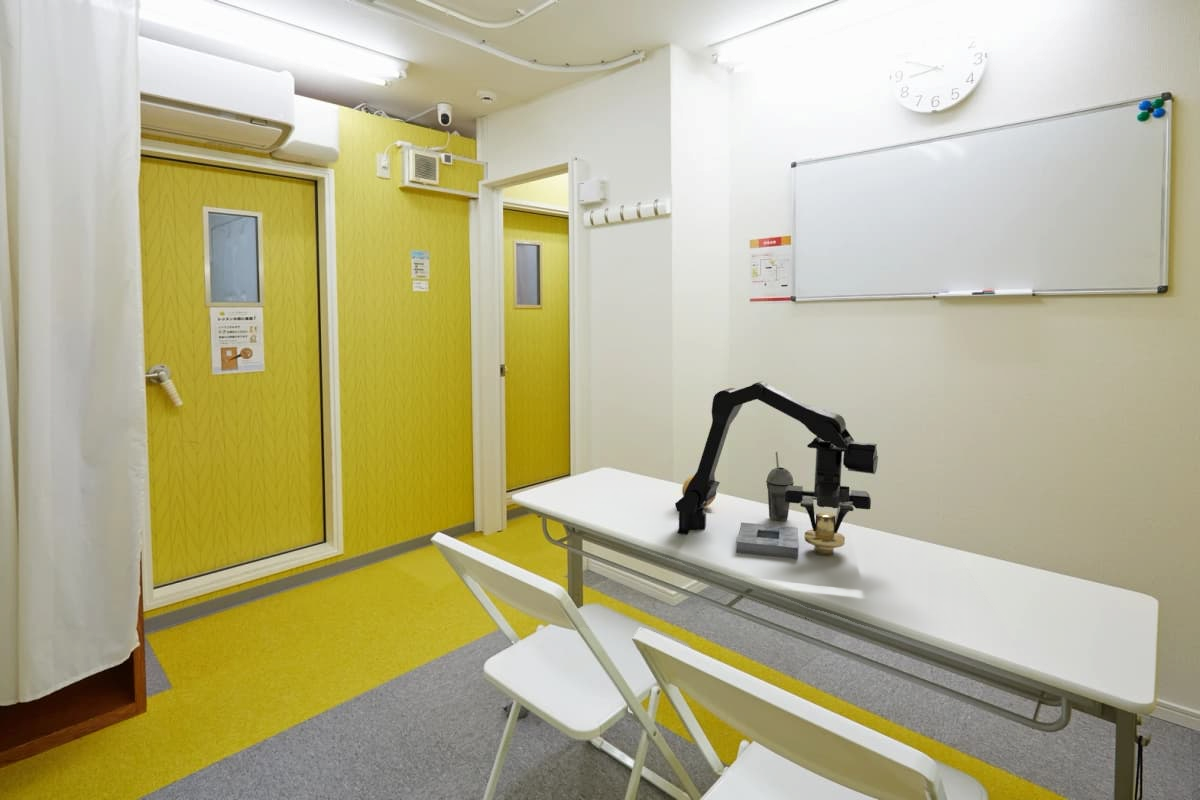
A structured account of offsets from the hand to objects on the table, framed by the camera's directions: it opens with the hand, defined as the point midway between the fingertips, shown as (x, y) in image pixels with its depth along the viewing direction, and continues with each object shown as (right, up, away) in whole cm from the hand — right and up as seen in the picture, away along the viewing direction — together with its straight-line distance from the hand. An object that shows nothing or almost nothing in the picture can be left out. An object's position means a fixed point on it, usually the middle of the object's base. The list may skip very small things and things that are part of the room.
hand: (824, 531), depth 152 cm
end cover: (0, -5, +1) cm, 5 cm away
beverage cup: (-4, -3, +25) cm, 25 cm away
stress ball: (-24, -1, +38) cm, 45 cm away
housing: (-12, -6, +6) cm, 14 cm away
